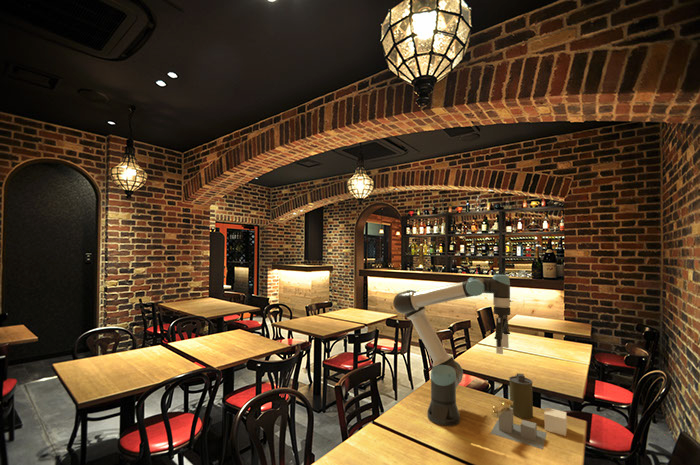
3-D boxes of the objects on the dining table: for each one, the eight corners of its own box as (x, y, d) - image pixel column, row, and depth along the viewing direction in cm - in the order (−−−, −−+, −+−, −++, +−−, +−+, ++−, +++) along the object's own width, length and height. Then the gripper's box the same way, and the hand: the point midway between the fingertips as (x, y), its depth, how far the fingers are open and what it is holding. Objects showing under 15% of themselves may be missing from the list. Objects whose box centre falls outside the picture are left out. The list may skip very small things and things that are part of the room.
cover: (544, 432, 148) (544, 413, 149) (546, 425, 155) (546, 407, 155) (566, 438, 144) (565, 419, 144) (566, 430, 150) (566, 412, 151)
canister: (536, 422, 157) (535, 379, 159) (513, 419, 159) (512, 377, 161) (529, 412, 168) (528, 371, 169) (507, 409, 170) (506, 369, 172)
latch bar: (500, 404, 152) (500, 395, 153) (514, 408, 148) (513, 399, 149) (487, 415, 142) (487, 405, 142) (501, 419, 138) (501, 409, 138)
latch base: (490, 435, 145) (489, 412, 146) (498, 421, 158) (497, 399, 159) (542, 451, 133) (542, 426, 134) (546, 434, 146) (546, 411, 147)
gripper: (505, 310, 151) (505, 357, 149) (514, 304, 171) (515, 346, 169) (487, 308, 155) (488, 354, 154) (499, 302, 175) (499, 343, 174)
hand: (502, 350), depth 161 cm, fingers open, 13 cm apart
